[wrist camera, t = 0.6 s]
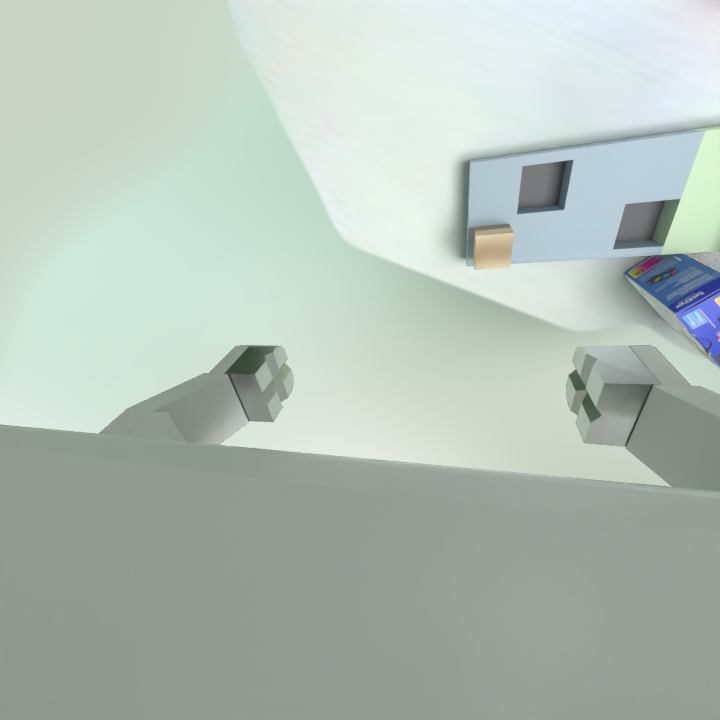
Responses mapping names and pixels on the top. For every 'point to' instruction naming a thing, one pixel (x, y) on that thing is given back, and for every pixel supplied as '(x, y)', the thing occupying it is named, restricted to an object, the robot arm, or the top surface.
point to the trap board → (603, 198)
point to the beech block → (492, 246)
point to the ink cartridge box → (683, 298)
